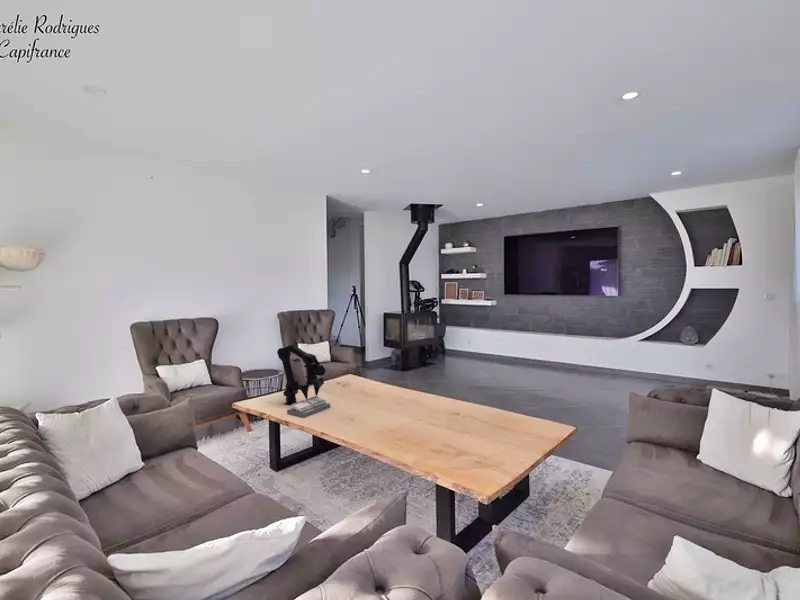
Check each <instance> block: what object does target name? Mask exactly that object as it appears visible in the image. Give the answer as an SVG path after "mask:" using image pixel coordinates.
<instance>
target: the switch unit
mask: <svg viewBox="0 0 800 600" xmlns="http://www.w3.org/2000/svg"><path fill="white" fill-rule="evenodd" d="M330 408H331V403H330V402H329V403H328V402H326V403H324V404H321V405H319V406H316V407H314V406H313V408H312V409H309V410H306V411H304V412H300V411H298V410H296V409H295V408H293V407H292V408H289V409H286V414H287V415H290V416H294V417H297V418H302V419H305V418H309V417H310V416H313V415H315V414H318V413H320V412H323V411H325V410H327V409H330Z"/></svg>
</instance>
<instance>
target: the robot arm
mask: <svg viewBox="0 0 800 600" xmlns="http://www.w3.org/2000/svg"><path fill="white" fill-rule="evenodd" d="M291 353H292V354H294V355H295V356H297V357H299V358H300V359H301V360H302V362H303V363H304V364H305V365H304V366H303V368H306V371H305V372H306V375H305V377H304V378H306V381H305V383H302V384H299V381H298V380H296V379H295V376H294V373H293V369H292V365H291V359H290V358H291V356H292V355H291ZM277 356H278V358H279V360H281V362H282V365H283V371H284V374H285V379H286V384H285V390H284V391H283V396H284V397H285V402H284V405H288V406H292V404H294V403H297V402H298V401H297V394H298V393H299V391H300V392H301V393H302V394H303V396H304V397H305V400H306V399H309V398H308V396H309V395H308V394H309V393H308V392H309V390H310V389H309V388H310V387H312V386H313V389H314V394H315V396H318V394H319V391H320V388H321V387H323V385H324V384H325V381H324V378H323V376H324V375H325V374H326V369H325V367H324V365H323V364H320V361H319V360H318V358H317V356H316V355H315V354H312V353H307V352H306V351H304V350H303V349H301V348H299V346H296V345H295V344H289V345H287V346H284V347H281V348H278V349H277ZM318 376H320V377H319V378H318Z"/></svg>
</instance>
